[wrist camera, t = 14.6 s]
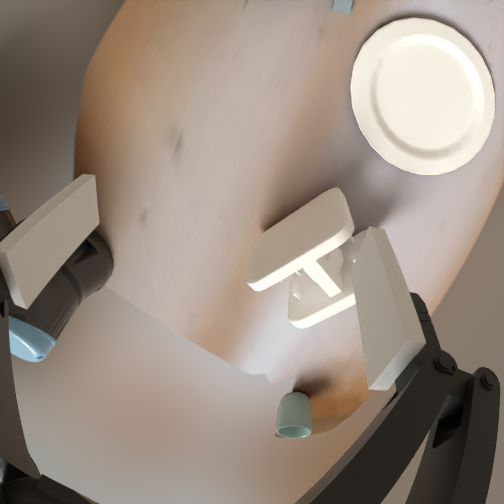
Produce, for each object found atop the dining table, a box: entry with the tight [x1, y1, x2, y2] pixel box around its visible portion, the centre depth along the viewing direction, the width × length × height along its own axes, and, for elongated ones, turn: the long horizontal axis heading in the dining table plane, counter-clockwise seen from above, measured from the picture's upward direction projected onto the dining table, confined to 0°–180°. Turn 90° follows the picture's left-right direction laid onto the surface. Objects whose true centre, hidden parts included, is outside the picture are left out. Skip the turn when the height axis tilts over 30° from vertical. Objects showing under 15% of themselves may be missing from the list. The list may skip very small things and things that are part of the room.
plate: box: [350, 17, 495, 175], centre depth 31 cm, size 21×21×2 cm
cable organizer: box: [246, 187, 368, 328], centre depth 40 cm, size 15×11×12 cm
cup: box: [276, 392, 312, 438], centre depth 66 cm, size 8×8×10 cm
